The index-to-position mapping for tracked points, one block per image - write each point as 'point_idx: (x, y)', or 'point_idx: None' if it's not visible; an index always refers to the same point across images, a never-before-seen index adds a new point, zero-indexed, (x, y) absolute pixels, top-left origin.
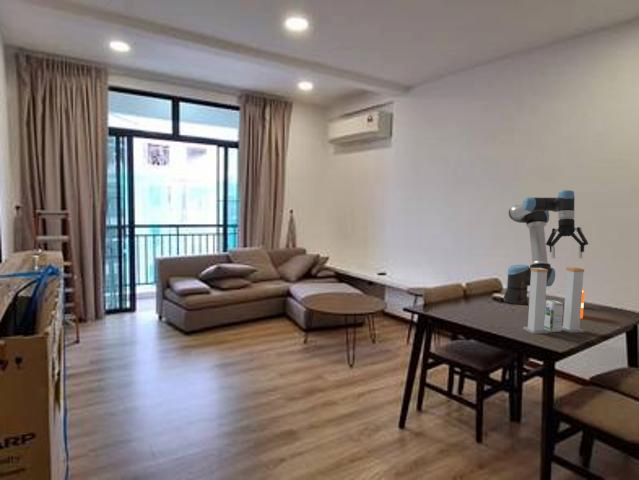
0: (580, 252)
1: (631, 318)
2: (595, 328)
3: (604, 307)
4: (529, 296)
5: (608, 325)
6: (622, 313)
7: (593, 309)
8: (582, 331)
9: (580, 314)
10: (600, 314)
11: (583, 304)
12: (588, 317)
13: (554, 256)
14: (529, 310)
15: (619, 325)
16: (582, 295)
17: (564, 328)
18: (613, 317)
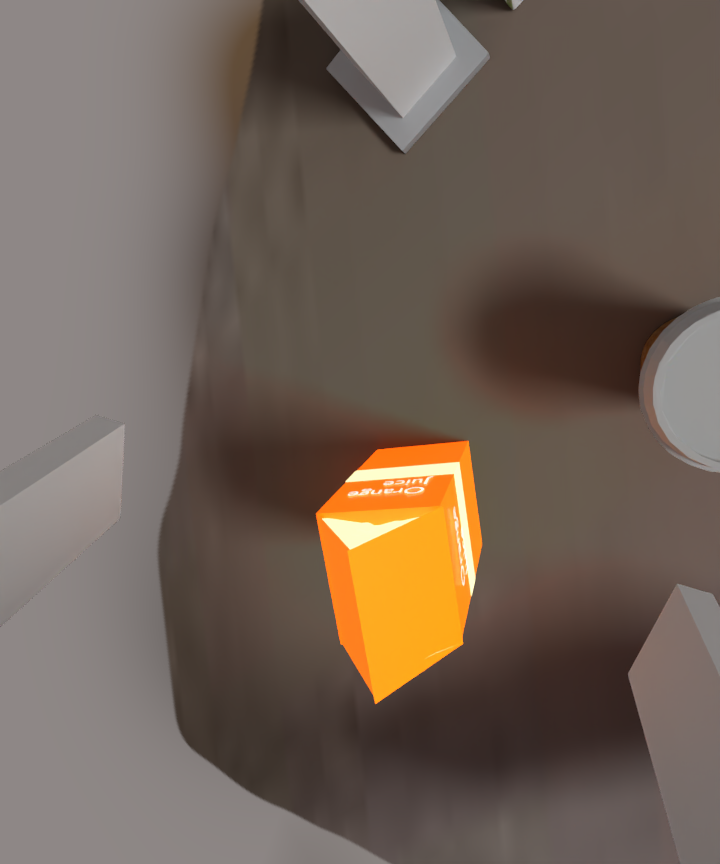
0: (3, 486)
1: (170, 609)
2: (288, 235)
3: (304, 802)
4: None
5: (240, 368)
6: (216, 701)
7: (348, 726)
8: (337, 58)
9: (383, 454)
10: (303, 618)
11: (349, 479)
12: None
13: (650, 686)
14: None
15: (196, 408)
16: (337, 502)
17: (441, 5)
18: (241, 582)
